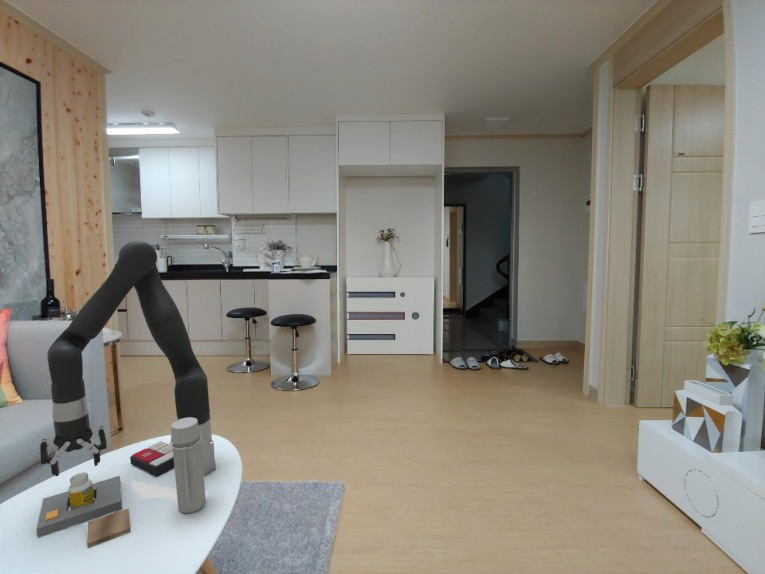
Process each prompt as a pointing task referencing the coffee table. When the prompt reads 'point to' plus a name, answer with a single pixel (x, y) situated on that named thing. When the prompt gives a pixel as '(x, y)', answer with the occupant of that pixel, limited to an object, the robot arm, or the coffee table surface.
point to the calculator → (154, 459)
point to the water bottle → (188, 464)
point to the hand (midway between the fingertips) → (77, 469)
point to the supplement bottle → (80, 490)
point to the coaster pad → (108, 527)
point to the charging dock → (60, 517)
